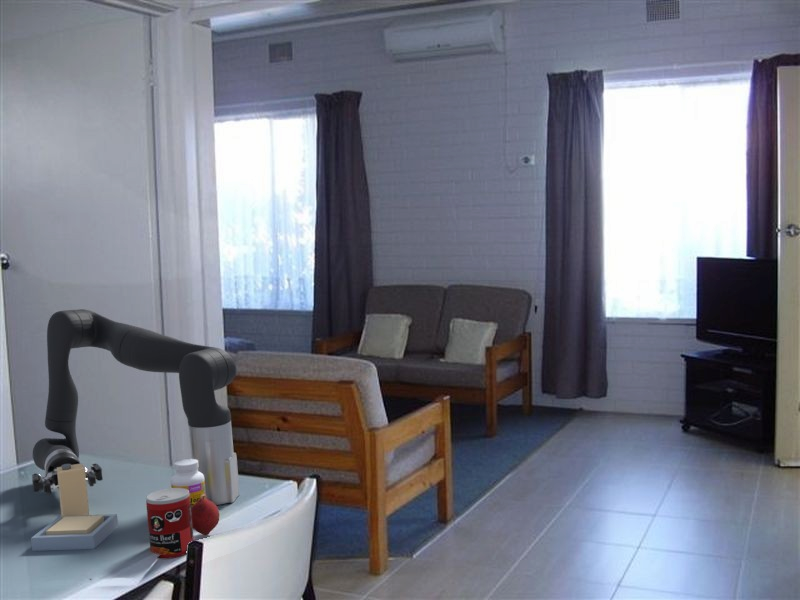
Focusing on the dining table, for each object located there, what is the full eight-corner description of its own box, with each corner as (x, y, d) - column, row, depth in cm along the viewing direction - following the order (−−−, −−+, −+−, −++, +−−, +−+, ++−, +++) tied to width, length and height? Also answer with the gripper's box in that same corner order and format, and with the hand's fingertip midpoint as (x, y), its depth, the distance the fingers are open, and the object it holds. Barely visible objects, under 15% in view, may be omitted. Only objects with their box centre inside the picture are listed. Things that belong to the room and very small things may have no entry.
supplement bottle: (191, 531, 177) (185, 468, 176) (167, 526, 181) (162, 464, 180) (214, 520, 183) (209, 459, 182) (191, 516, 187) (186, 456, 185)
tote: (118, 531, 180) (117, 514, 180) (94, 553, 168) (92, 535, 168) (60, 533, 181) (59, 516, 180) (32, 555, 169) (31, 537, 169)
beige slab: (104, 530, 178) (103, 515, 178) (88, 545, 170) (86, 529, 170) (65, 531, 179) (64, 516, 178) (47, 546, 171) (45, 531, 170)
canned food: (142, 557, 165) (137, 499, 164) (168, 541, 172) (164, 486, 171) (176, 561, 162) (171, 502, 161) (202, 545, 169) (197, 488, 168)
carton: (87, 518, 189) (81, 459, 188) (90, 525, 185) (84, 464, 183) (62, 523, 187) (56, 463, 186) (64, 530, 182) (58, 469, 181)
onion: (213, 540, 171) (210, 500, 170) (185, 540, 172) (182, 500, 172) (225, 530, 177) (222, 490, 176) (198, 529, 178) (194, 490, 177)
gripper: (27, 457, 201) (32, 474, 186) (94, 446, 207) (104, 462, 192) (31, 490, 201) (36, 509, 187) (97, 478, 208) (107, 496, 193)
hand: (70, 485), depth 190 cm, fingers open, 8 cm apart
